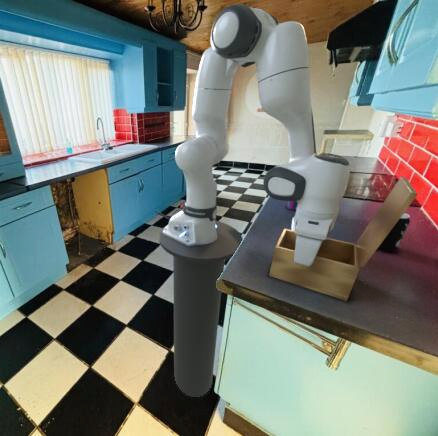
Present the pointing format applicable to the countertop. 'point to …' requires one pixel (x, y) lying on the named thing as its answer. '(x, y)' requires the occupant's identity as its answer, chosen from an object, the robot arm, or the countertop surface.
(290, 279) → the chest
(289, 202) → the mug
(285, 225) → the countertop surface
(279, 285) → the countertop surface
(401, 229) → the beverage can
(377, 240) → the chest lid
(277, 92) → the robot arm
